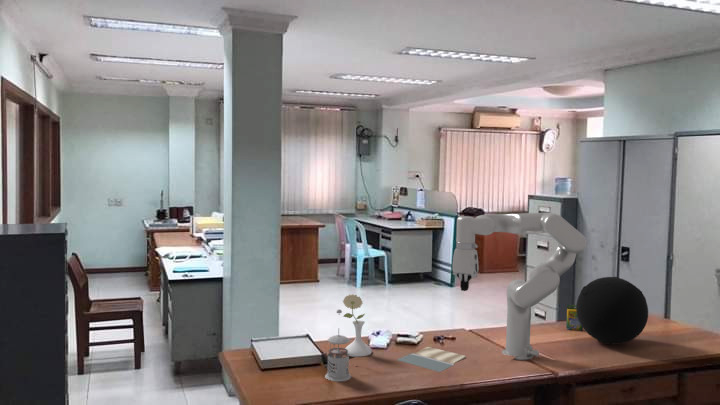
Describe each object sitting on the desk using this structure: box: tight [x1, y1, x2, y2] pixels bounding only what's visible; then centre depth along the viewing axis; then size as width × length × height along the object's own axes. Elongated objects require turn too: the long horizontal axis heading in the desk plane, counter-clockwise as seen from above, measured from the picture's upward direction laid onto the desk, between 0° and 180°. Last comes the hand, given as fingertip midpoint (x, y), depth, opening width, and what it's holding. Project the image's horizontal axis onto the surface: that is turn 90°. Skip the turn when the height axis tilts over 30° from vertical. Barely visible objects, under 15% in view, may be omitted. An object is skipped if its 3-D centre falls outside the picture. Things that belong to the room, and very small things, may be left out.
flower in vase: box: [342, 293, 373, 358], centre depth 235 cm, size 13×11×25 cm
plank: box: [413, 346, 466, 364], centre depth 233 cm, size 18×10×1 cm, turn 51°
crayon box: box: [565, 304, 584, 331], centre depth 280 cm, size 7×3×12 cm, turn 80°
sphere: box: [575, 276, 649, 345], centre depth 258 cm, size 30×30×30 cm
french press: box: [324, 309, 352, 382], centre depth 211 cm, size 10×12×25 cm
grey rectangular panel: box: [396, 353, 455, 373], centre depth 225 cm, size 20×11×1 cm, turn 51°
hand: (464, 290), depth 238 cm, fingers closed
